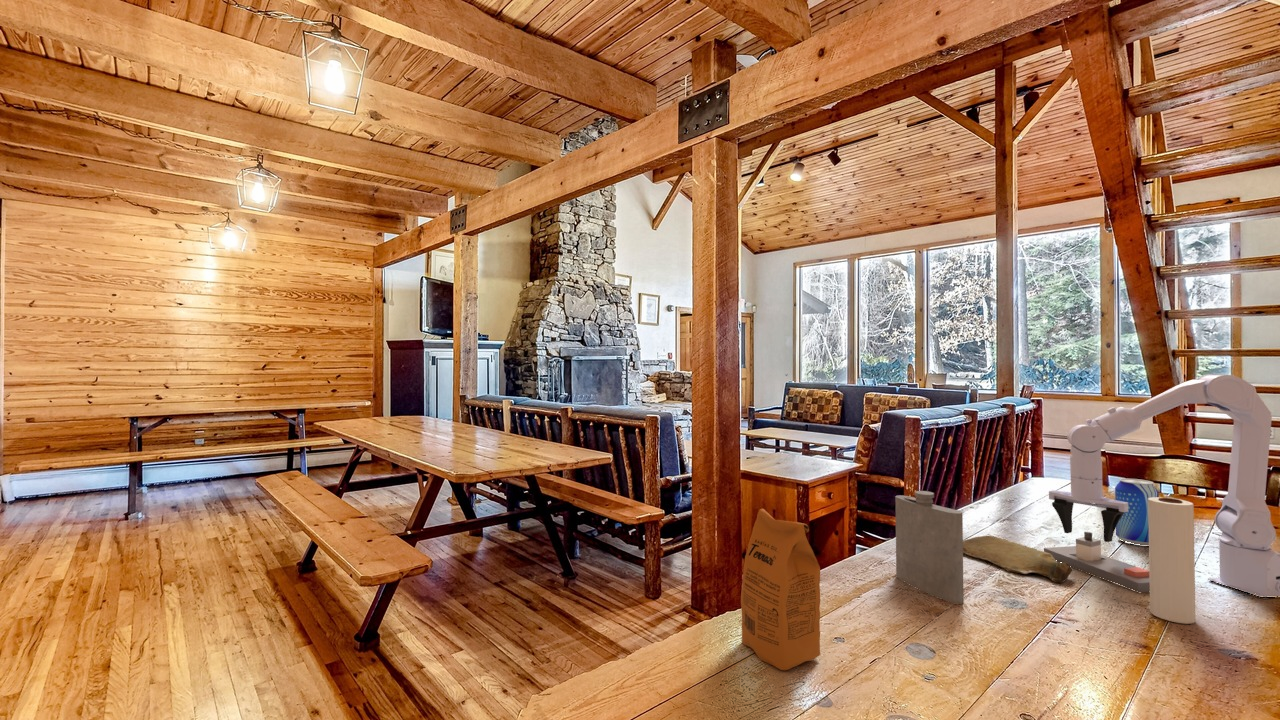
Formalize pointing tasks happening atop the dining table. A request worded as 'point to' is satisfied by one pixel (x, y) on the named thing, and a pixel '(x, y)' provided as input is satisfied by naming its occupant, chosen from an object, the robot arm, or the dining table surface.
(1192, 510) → the paper towel roll
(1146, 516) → the beer can
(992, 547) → the stone tool
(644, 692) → the dining table surface
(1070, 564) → the power strip
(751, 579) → the coffee package
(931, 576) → the hip flask
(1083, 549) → the plug
